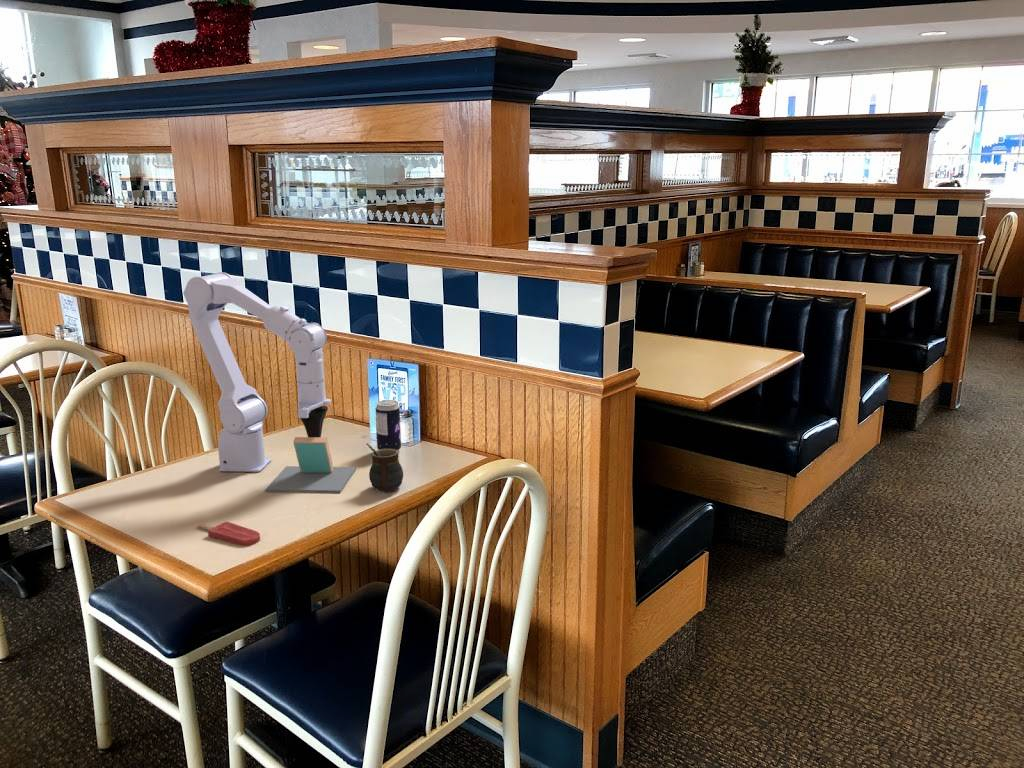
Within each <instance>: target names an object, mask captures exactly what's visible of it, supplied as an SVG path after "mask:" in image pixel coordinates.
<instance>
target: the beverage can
mask: <svg viewBox="0 0 1024 768" xmlns="http://www.w3.org/2000/svg"><path fill="white" fill-rule="evenodd" d="M400 408H401V407H400V405H399V404H398V401H396V400H393V399H392V400H391V399H387V400H380V401H378V402H377V403H376V407H375V423H376V424H375V426H376V427H375V428H376V447H377V449H378V450H381V449H394V450H397V451H398V452H399V450H400V449H401V448H402V435H401V433H402V432H401V411H400Z"/></svg>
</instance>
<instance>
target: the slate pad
mask: <svg viewBox="0 0 1024 768" xmlns="http://www.w3.org/2000/svg"><path fill="white" fill-rule="evenodd" d="M356 471H357V467H356V466H355V467H354V466H352V467H351V466H333V471H332V473H304V472H301V471H300V467H299V465H298V466H291V465H290V466H285V467H284V468H283V469H282V470H281V472H280V473H278V475H276V477H275V478H274V479H273V480H272V481H271V482H270V483H269V485H267V486H266V488H264V489H265V490H264V491H265V492H267V493H268V492H269V493H270V492H271V493H320V494H321V493H324V494H325V493H326V494H327V493H331V494H338V493H339V494H341V493H342V492H343V490H344V489H345V487H346V485H347V484H348V483H349V481H350V479H351V478H352V477H353V476H354V473H355V472H356Z"/></svg>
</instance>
